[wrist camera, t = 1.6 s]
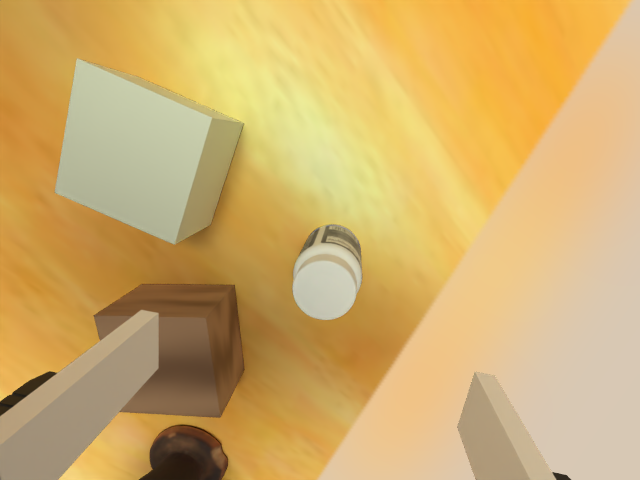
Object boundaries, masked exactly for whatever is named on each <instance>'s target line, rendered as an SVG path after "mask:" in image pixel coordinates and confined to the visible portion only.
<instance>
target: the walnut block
mask: <svg viewBox="0 0 640 480" xmlns="http://www.w3.org/2000/svg"><path fill="white" fill-rule="evenodd" d="M140 310H145V311H150V312H156V313H159V368H158V369H157V370H156V371H155V373H154V374H153V375H152V376H151V377H150V378H149V379H148V380H147V381H146V383H145V384H144V385H143V386H142V387H141V388H140V389H139V390H138V391H137V393H136V394H135V395H134V396H133V397H132V398H131V399H130V400H129V401H128V403H127V404H126V405H125V406H124V407H123V408H122V409H121V410H120V411H119V412H130V413H148V414H165V415H183V416H201V417H219V418H220V417H221V415H222V413H223V411H224V409H225V407H226V405H227V403H228V401H229V399H230V397H231V395H232V393H233V391H234V389H235V387H236V385H237V383H238V381H239V379H240V377H241V375H242V373H243V371H244V362H243V354H242V345H241V337H240V328H239V319H238V311H237V302H236V294H235V285H191V284H141V285H140V286H138V287H137V288H135V289H134V290H132V291H131V292H129V293H127V294H126V295H124V296H123V297H121V298H120V299H118V300H117V301H115V302H114V303H112V304H111V305H109V306H108V307H106V308H104V309H103V310H101V311H100V312H98V313H97V314H95V315H94V318H95V322H96V326H97V330H98V334H99V338H100V341H101V340H102V339H103V338H105V337H106V336H107V335H109V334H110V333H111V332H113V331H114V330H115V329H117V328H118V327H119V326H121V325H122V324H123V323H125V322H126V321H127V320H129V319H130V318H131V317H133V316H134V315H135V314H136V313H138V312H139V311H140Z"/></svg>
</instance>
